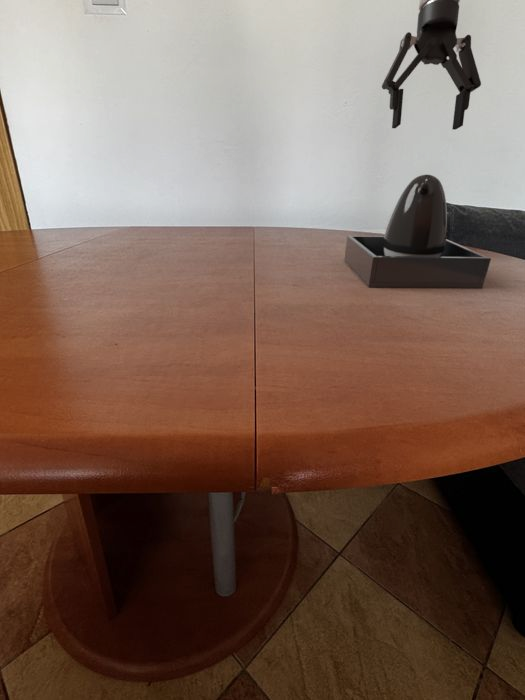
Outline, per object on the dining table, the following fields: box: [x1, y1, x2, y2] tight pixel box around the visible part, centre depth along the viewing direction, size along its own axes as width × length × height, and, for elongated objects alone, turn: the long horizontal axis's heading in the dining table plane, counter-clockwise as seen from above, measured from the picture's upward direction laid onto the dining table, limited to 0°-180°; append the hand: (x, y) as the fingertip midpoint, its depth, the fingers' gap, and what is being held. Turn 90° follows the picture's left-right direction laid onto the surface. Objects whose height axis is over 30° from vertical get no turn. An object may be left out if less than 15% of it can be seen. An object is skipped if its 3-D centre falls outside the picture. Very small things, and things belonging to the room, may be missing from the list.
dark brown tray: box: [343, 235, 492, 289], centre depth 66 cm, size 19×17×5 cm
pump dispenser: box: [383, 174, 448, 257], centre depth 64 cm, size 10×10×15 cm
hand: (427, 127), depth 81 cm, fingers open, 13 cm apart
